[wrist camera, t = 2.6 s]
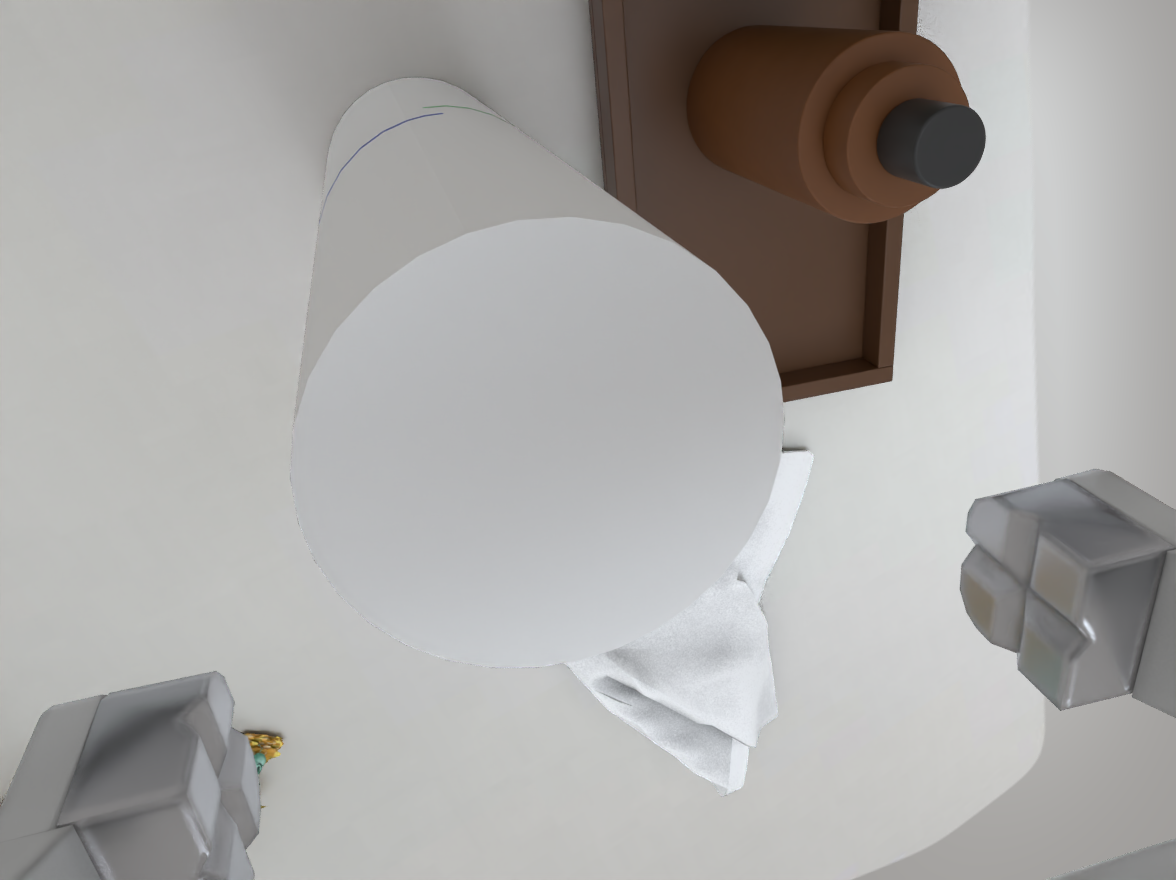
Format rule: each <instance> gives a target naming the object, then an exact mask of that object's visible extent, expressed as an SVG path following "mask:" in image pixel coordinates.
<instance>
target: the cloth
mask: <svg viewBox="0 0 1176 880" xmlns="http://www.w3.org/2000/svg"><path fill="white" fill-rule="evenodd" d="M813 458H814V455H813V454H812V453H811V452H809V451H808V450H798V451H782V454H781V462H780V465H779V469H778V472H777V475H776V479H775V482H774V485H773V489H772V492H771V495H770V499H769V502H768V504H767V506H766V508H765V510H764V512H763V514H762V516H761V518H760V520H759V522H758V523H757V525H756V527H755V529H754V531H753V533H752V535H751V537H750V539H749V541H748V542H747V544H746V545H745V546H744V548H743V549H742V550H741V551H740V553H739V554H738V555H737V557H736V558H735V559H734V561H733V562H732V563H731V565H730V566H729V567H728V569H727V570H726V571H725V572H724V574H723V575H722V576H721V577H720V578H719V579H718V580H717V581H716V582H715V583H714V584H713V585H712V586H711V587H710V588H709V589H708V590H706V591H705V592H704V593H703V594H702V595H701V596H700V597H699V598H698V599H697V600H696V601H695V602H694V603H693V604H692V605H690V606H689V607H688V608H687V609H685V610H684V611H682V612H681V613H679V614H678V615H676V616H675V617H673V618H672V619H670V620H669V621H667V622H666V623H665V624H663V625H662V626H660V627H659V628H657V629H656V630H654V631H652V632H650V633H648V634H646V635H644V636H642V637H640V638H638V639H636V640H634V641H632V642H630V643H628V644H626V645H624V646H622V647H619V648H617V649H614V650H611V651H608V652H605V653H602V654H599V655H596V656H592V657H589V658H586V659H583V660H580V661H575V662H569V663H565V664H566V665H567V666H568V667H569V668H570V670H571V671H572V672H573V673H574V674H575V675H576V676H577V677H578V678H579V680H580V681H581V682H582V683H583V684H584V685H585V686H586V687H587V688H588V689H589V690H590V691H591V692H592V694H593V695H594V696H595V697H596V698H597V699H598V700H599V701H600V702H601V703H602V704H603V705H604V706H605V707H606V708H607V709H608V710H609V711H610V712H611V713H613V714H614V715H615V716H617V717H618V718H620V719H621V720H623V721H624V722H625V723H627V724H628V725H630V726H631V727H633V728H634V729H635V730H637V731H638V732H640V733H641V734H642V735H644V736H645V737H647V738H648V739H649V740H651V741H652V742H654V743H655V744H656V745H658V746H659V747H661V748H662V749H664V750H665V751H667V752H668V753H670V754H671V755H673V756H674V757H676V758H677V759H678V760H679V761H681V762H682V763H683V764H684V765H685V766H686V767H688V768H689V769H690V770H691V771H692V772H693V773H694V774H696V775H698V776H700V777H703V778H705V779H707V780H709V781H711V783H712V784H713V786H714V787H715V788H716V790H717V791H718V793H719V794H720V796H721V797H724V796H726V795H728V794H730V793H732V792H734V791H736V790H738V789H740V788H742V787H743V784H744V780H745V775H746V770H747V766H748V755H749V747H755V748H756V746H757V742H758V738H759V734H760V730H761V728H762V727H763V726H765V725H766V724H768V723H769V722H770V721H772V720H773V719H775V718H776V717H777V716H778V708H777V700H776V693H775V685H774V677H773V670H772V664H771V657H770V651H769V639H768V626H767V621H766V618H765V616H764V614H763V612H762V610H761V608H760V606H759V601H760V598H761V595H762V592H763V589H764V585H765V582H766V580H767V578H768V576H769V574H770V572H771V570H772V568H773V567H774V565H775V563H776V561H777V559H778V557H779V555H780V553H781V551H782V548H783V546H784V544H785V542H786V540H787V538H788V536H789V533H790V531H791V529H792V526H793V523H794V520H795V517H796V515H797V512H798V509H799V506H800V503H801V500H802V498H803V495H804V492H805V489H806V485H807V481H808V477H809V474H810V470H811V466H812V462H813Z"/></svg>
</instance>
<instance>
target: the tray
mask: <svg viewBox="0 0 1176 880" xmlns="http://www.w3.org/2000/svg"><path fill="white" fill-rule="evenodd" d="M918 3H919V0H589V10H590V22H591V34H592V46H593V58H594V70H595V82H596V94H597V106H598V118H599V130H600V142H601V154H602V166H603V178H604V190H605V191H606V192H607V193H608V194H610V195H611V196H613V197H614V198H615V199H617V200H618V201H620V202H621V203H622V204H624V205H625V206H627V207H628V208H629V209H631V210H632V211H633V212H635V213H636V214H638V215H639V216H640V217H642V218H643V219H645V220H646V221H647V222H649V223H650V224H651V225H653V226H654V227H656V228H657V229H658V230H660V231H661V232H663V233H664V234H665V235H667V236H668V237H670V238H671V239H672V240H674V241H675V242H676V243H678V244H679V245H681V246H682V247H683V248H685V249H686V250H688V251H689V252H690V253H692V254H693V255H695V256H696V257H697V258H699V259H700V260H701V261H703V262H704V263H706V264H707V265H708V266H710V267H711V268H713V269H714V270H715V271H717V273H718V274H719V275H720V276H721V277H722V278H723V279H724V280H725V281H726V282H727V283H728V284H729V286H730V287H731V288H732V289H733V290H734V291H735V292H736V293H737V294H738V295H739V296H740V298H741V299H742V300H743V301H744V302H745V303H746V304H747V305H748V307H749V308H750V310H751V312H752V314H753V315H754V317H755V319H756V321H757V323H758V324H759V326H760V328H761V330H762V331H763V333H764V335H765V337H766V338H767V340H768V342H769V344H770V347H771V351H772V354H773V357H774V360H775V364H776V367H777V370H778V373H779V376H780V380H781V387H782V397H783V402H788V401H793V400H798V399H803V398H808V397H813V396H819V395H824V394H829V393H834V392H839V391H844V390H849V389H854V388H859V387H864V386H869V385H874V384H879V383H885V382H890V381H892V376H893V360H894V346H895V332H896V317H897V303H898V289H899V275H900V260H901V246H902V232H903V217H904V213H903V214H901V215H899V216H897V217H894V218H892V219H889V220H886V221H882V222H877V223H868V224H863V223H853V222H848V221H844V220H842V219H839V218H837V217H834V216H832V215H830V214H827V213H825V212H823V211H820V210H818V209H816V208H813V207H811V206H809V205H806V204H804V203H802V202H799V201H797V200H795V199H793V198H790V197H788V196H786V195H783V194H781V193H779V192H776V191H774V190H772V189H769V188H767V187H765V186H762V185H760V184H758V183H755V182H753V181H751V180H748V179H746V178H744V177H741V176H739V175H737V174H734V173H732V172H730V171H727V170H725V169H723V168H721V167H719V166H717V165H715V164H714V163H713V162H711V161H710V160H709V159H708V158H707V157H706V156H705V155H704V154H703V153H702V152H701V150H700V149H699V148H698V146H697V145H696V143H695V141H694V139H693V137H692V134H691V131H690V128H689V123H688V118H687V96H688V90H689V86H690V82H691V79H692V76H693V74H694V71H695V69H696V67H697V65H698V63H699V62H700V60H701V59H702V57H703V56H704V54H705V53H706V52H707V51H708V49H709V48H710V47H711V46H712V45H713V44H714V43H715V42H716V41H718V40H719V39H720V38H722V37H723V36H724V35H726V34H728V33H730V32H732V31H733V30H736V29H739V28H742V27H745V26H750V25H775V26H797V27H819V28H841V29H863V30H885V31H901V32H909V33H913V34H916V32H917V17H918Z"/></svg>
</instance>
